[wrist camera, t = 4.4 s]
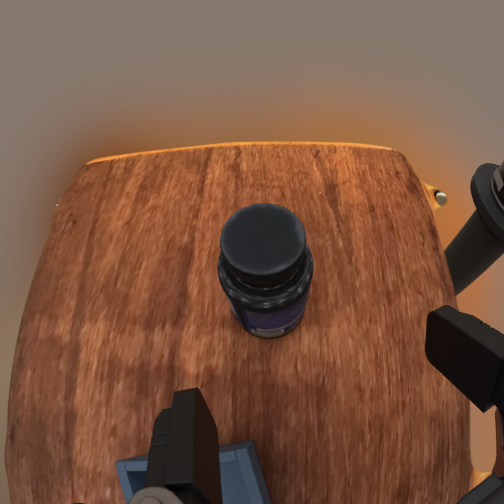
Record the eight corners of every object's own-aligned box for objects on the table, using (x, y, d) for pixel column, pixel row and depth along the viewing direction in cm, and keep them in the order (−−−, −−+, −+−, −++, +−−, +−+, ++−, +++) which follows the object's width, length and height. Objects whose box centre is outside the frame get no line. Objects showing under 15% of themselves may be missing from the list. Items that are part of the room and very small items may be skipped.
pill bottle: (316, 295, 26) (339, 221, 16) (280, 353, 23) (282, 311, 14) (258, 263, 28) (248, 179, 18) (219, 315, 25) (184, 252, 16)
